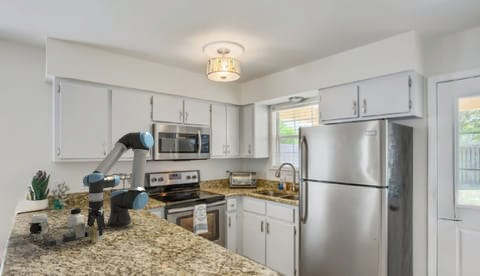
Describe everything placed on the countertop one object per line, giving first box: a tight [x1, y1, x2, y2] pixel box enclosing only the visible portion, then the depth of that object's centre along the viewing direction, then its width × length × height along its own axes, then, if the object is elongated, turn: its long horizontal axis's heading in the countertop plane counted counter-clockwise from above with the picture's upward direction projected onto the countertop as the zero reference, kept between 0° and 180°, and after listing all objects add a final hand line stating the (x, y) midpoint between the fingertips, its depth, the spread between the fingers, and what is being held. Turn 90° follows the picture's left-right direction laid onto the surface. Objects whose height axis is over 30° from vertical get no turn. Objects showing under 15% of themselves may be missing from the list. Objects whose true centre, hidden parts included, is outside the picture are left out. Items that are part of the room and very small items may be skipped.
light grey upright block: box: [71, 222, 86, 240], centre depth 163 cm, size 5×5×8 cm
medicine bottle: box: [66, 207, 85, 229], centre depth 188 cm, size 7×7×12 cm
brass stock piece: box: [88, 224, 98, 242], centre depth 158 cm, size 5×5×8 cm
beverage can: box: [30, 213, 49, 237], centre depth 171 cm, size 8×8×12 cm
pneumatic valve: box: [29, 219, 49, 241], centre depth 160 cm, size 6×12×12 cm, turn 15°
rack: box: [43, 228, 89, 247], centre depth 159 cm, size 22×9×3 cm, turn 143°
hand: (95, 239), depth 158 cm, fingers open, 9 cm apart
